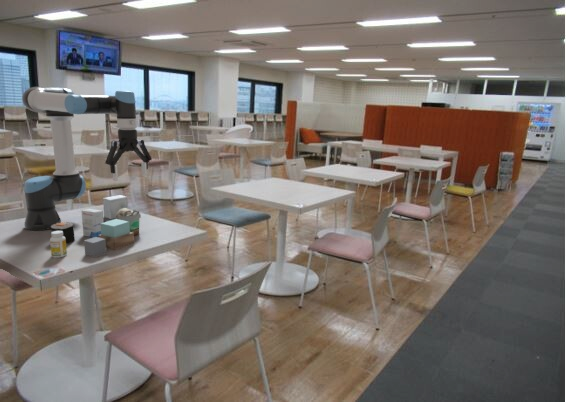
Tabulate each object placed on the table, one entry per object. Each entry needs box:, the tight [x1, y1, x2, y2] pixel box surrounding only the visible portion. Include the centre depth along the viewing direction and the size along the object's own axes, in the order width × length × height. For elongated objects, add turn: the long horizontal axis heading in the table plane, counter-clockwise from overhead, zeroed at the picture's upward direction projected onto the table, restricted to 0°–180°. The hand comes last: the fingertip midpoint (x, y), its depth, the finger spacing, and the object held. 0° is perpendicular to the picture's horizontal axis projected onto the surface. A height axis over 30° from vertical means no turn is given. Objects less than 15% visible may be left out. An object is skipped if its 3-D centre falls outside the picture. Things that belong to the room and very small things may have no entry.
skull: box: [115, 208, 132, 219], centre depth 203 cm, size 12×10×10 cm
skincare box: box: [102, 194, 129, 220], centre depth 214 cm, size 10×6×10 cm, turn 147°
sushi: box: [50, 222, 76, 245], centre depth 174 cm, size 8×8×8 cm
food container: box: [119, 209, 142, 237], centre depth 185 cm, size 12×6×10 cm, turn 168°
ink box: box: [81, 208, 104, 238], centre depth 183 cm, size 9×5×12 cm, turn 65°
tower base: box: [98, 232, 135, 251], centre depth 173 cm, size 10×10×5 cm
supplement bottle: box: [49, 231, 68, 259], centre depth 158 cm, size 5×5×10 cm
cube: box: [83, 237, 107, 258], centre depth 161 cm, size 6×6×6 cm
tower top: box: [100, 218, 130, 238], centre depth 172 cm, size 8×8×5 cm
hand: (130, 178), depth 176 cm, fingers open, 13 cm apart
